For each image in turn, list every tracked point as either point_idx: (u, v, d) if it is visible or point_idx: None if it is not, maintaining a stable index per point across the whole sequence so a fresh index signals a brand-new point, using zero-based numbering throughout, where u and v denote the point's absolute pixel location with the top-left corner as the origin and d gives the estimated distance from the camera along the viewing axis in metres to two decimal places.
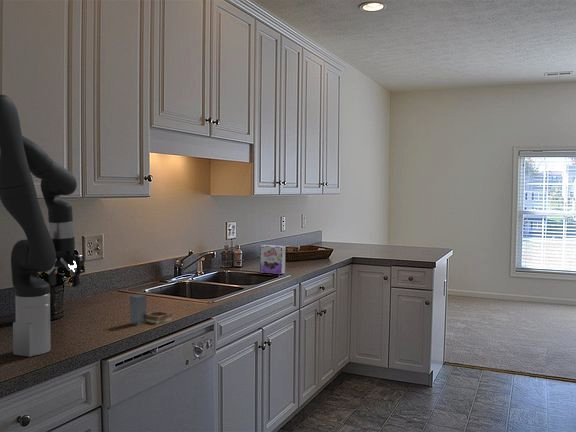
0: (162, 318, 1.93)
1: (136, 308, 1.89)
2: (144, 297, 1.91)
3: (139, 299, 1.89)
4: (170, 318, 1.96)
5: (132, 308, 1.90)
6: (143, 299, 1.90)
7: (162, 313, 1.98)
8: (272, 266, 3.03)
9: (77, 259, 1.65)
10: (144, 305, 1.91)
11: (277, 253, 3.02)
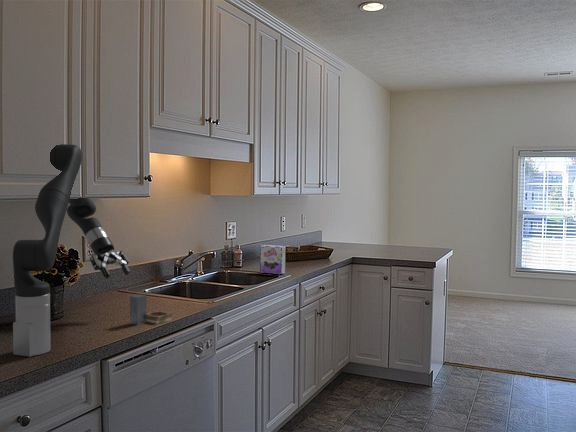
0: (162, 318, 1.93)
1: (136, 308, 1.89)
2: (144, 297, 1.91)
3: (139, 299, 1.89)
4: (170, 318, 1.96)
5: (132, 308, 1.90)
6: (143, 299, 1.90)
7: (162, 313, 1.98)
8: (272, 266, 3.03)
9: (123, 252, 2.05)
10: (144, 305, 1.91)
11: (277, 253, 3.02)
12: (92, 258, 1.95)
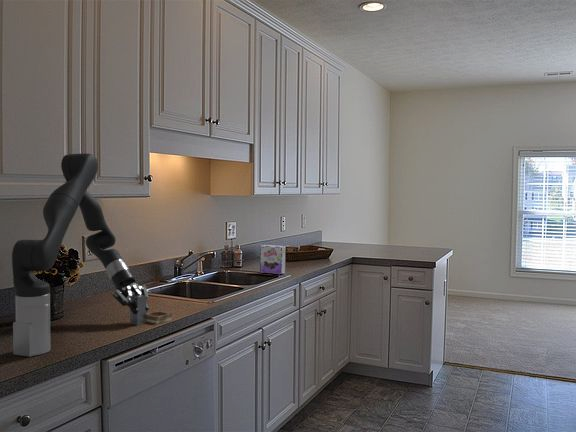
0: (162, 318, 1.93)
1: None
2: (144, 297, 1.91)
3: (139, 299, 1.89)
4: (170, 318, 1.96)
5: None
6: (143, 299, 1.90)
7: (162, 313, 1.98)
8: (272, 266, 3.03)
9: (145, 288, 1.98)
10: (144, 305, 1.91)
11: (277, 253, 3.02)
12: (117, 295, 1.88)
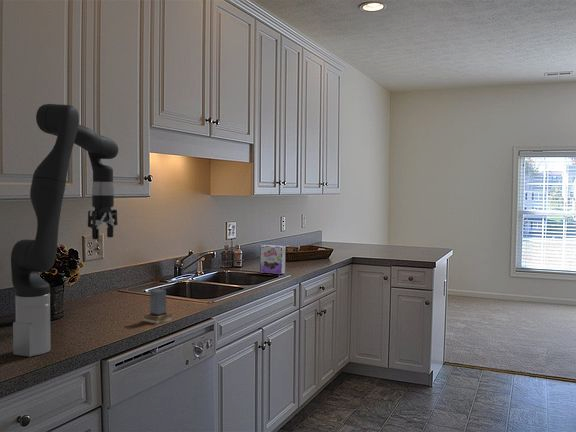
0: (162, 318, 1.93)
1: (156, 302, 1.93)
2: (164, 292, 1.95)
3: (159, 294, 1.93)
4: (170, 318, 1.96)
5: (152, 302, 1.94)
6: (163, 294, 1.95)
7: None
8: (272, 266, 3.03)
9: (116, 213, 2.01)
10: (164, 299, 1.95)
11: (277, 253, 3.02)
12: (91, 215, 1.88)
